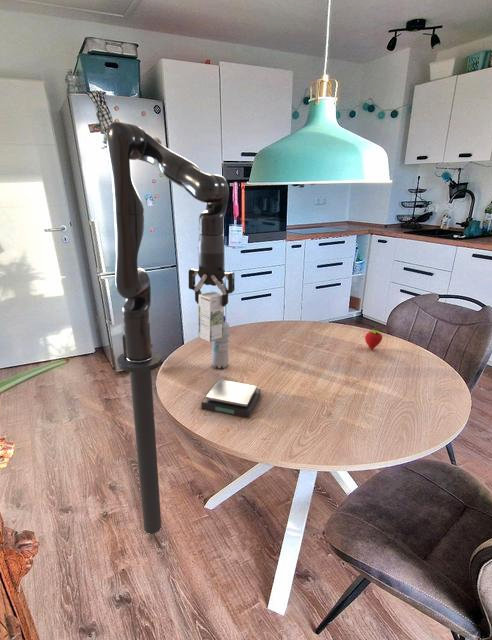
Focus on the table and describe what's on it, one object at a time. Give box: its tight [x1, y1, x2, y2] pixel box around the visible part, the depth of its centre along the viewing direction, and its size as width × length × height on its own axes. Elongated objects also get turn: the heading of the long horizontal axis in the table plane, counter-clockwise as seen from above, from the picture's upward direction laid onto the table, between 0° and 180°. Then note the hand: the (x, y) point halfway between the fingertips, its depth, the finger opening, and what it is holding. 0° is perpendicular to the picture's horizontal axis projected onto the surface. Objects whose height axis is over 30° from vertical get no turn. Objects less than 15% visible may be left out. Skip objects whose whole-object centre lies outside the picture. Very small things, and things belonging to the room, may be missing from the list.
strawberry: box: [364, 326, 383, 350], centre depth 163 cm, size 6×8×10 cm
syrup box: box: [198, 291, 225, 343], centre depth 121 cm, size 6×6×14 cm
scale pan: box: [205, 379, 258, 407], centre depth 120 cm, size 13×12×1 cm
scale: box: [200, 381, 262, 419], centre depth 121 cm, size 15×14×2 cm
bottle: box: [211, 315, 231, 370], centre depth 141 cm, size 7×7×20 cm
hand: (211, 304), depth 119 cm, fingers closed on syrup box, 7 cm apart
